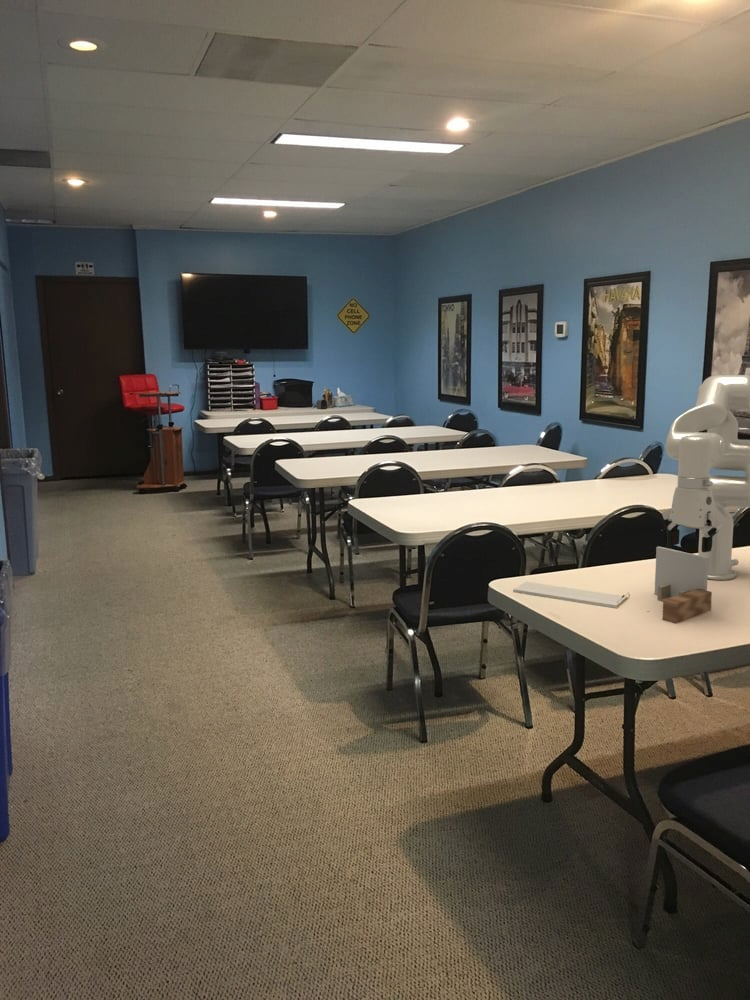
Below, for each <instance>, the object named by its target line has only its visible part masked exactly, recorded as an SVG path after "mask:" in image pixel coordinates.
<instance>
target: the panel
mask: <svg viewBox="0 0 750 1000" xmlns="http://www.w3.org/2000/svg"><path fill="white" fill-rule="evenodd" d="M655 551H656V552H655V553H656V554H655V574H654V575H655V577H654V595H657V601H660V602H663V600H666V599H669V598H672V597H675V596H678V595H681V594H684V593H687V592H690V591H692V590H695V589H702V590H706V591H708V581H709V579H708V562H709V558H708V557H704V556H699V555H698V554H694V553H689V552H684V551H680V550H675V549H672V548H667V547H662V546H656V548H655Z"/></svg>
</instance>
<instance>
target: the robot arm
mask: <svg viewBox="0 0 750 1000" xmlns="http://www.w3.org/2000/svg"><path fill="white" fill-rule="evenodd" d="M732 411H744V412H745V411H746V412H747V411H750V375H747V374H723V375H722V374H717V375H711V376H708V377H707V378H705V380H703V382H702V384H700V385H699V387H698V390H697V399H696V403H695V406H694V407H691V408H690V409H689V410H686V411H685V412H683V413H682V414H681V415H679V416H678V417H676V419H675V420H674V421H673V422H672V423H671V425H670V428H669V432H668V434H667V437H666V441H665V453H666V455H667V456H668V458H670V459H671V460H676V461H678V466H677V467H678V469H677V470H678V471H677V472H678V473H677V486H676V487H675V489H674V492H673V497H672V503H671V508H669V509H667V510H664V511H662V513H661V516H662V518H663V520H664V524H665V525H666V526H667V530H668V531H669V534H668V535H669V537H668V540H669V546H675V545H678V544H680V529H679V528H680V527H687V528H692V529H699V534H698V536H699V537H698V553H697V555H699V556H704V557H708V558H709V562H708V580H713V581H725V580H726V581H727V580H728V581H729V580H732V579H735V578H736V576H737V572H736V571H735V570H733V569H732V568H733V567H734V566H737V565H739V563H740V562H739V560H738V559H737V558H736V559H732V556H733V555H732V553H733V540H734V539H733V537H734V519H733V516H732V515H731V512H730V511H729V510H728V509H727V508H726V507H731V508H732V507H733V508H745V509H750V439H739V438H738V433H739V432H738V431H739V422H738V420H737V417H735V415H734V414H733V412H732ZM703 431H704V432H703ZM705 431H706V432H705ZM711 469H712V470H714V471H715V470H717V471H729V472H730V471H731V472H743V473H744V474H745V475H731V474H710V472H711V471H710V470H711Z"/></svg>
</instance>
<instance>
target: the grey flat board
mask: <svg viewBox="0 0 750 1000" xmlns="http://www.w3.org/2000/svg"><path fill="white" fill-rule="evenodd" d="M516 592H518V594H522V593H524V594H523V595H528V596H529V595H530V596H535V597H541V598H547V597H548V599H554V600H561V601H567V602H573V603H580V604H587V605H592V606H600V607H605V608H611V609H618V608H620V606H622V605H623V604H624V603H625V602H626V601H627V600H628V599H629V598H630V595H631V594H629V593H626V595H625V594H623V595H618V594H613V593H606V592H598V591H592V590H586V589H585V590H584V589H579V588H571V587H565V586H557V585H550V584H544V583H538V582H537V583H536V582H531V581H525V582H523V583H522V584H520V585H518V586H516V587H515V588H513V591H512V593H516ZM627 595H628V596H627Z"/></svg>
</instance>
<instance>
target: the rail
mask: <svg viewBox="0 0 750 1000" xmlns="http://www.w3.org/2000/svg"><path fill="white" fill-rule="evenodd" d="M712 593H713V592H712V591H709V590H707V591H706V590H702V589H695V590H692V591H690V592H687V593H684V594H681V595H678V596H675V597H672V598H669V599H666V600H663V601H662V620H661V621H666V622H669V623H673V624H679V623H681V622H684V621H686V620H689V619H692V618H695V617H698V616H700V615H703V614H706V613H708V612H711V611H712Z"/></svg>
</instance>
